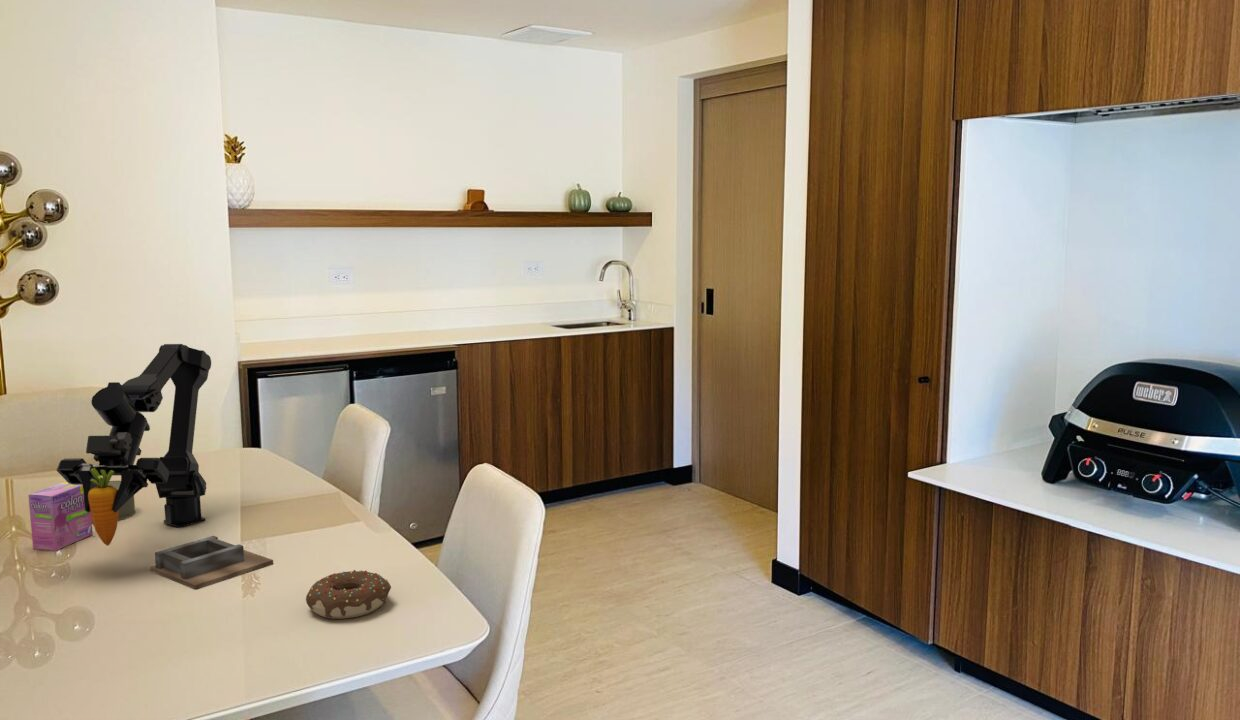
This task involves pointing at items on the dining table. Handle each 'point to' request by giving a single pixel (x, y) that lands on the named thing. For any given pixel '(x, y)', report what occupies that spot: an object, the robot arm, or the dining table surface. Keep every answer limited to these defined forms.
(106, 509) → the carrot
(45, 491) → the box
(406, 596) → the dining table surface
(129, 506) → the can
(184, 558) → the grey frame on base
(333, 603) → the donut
